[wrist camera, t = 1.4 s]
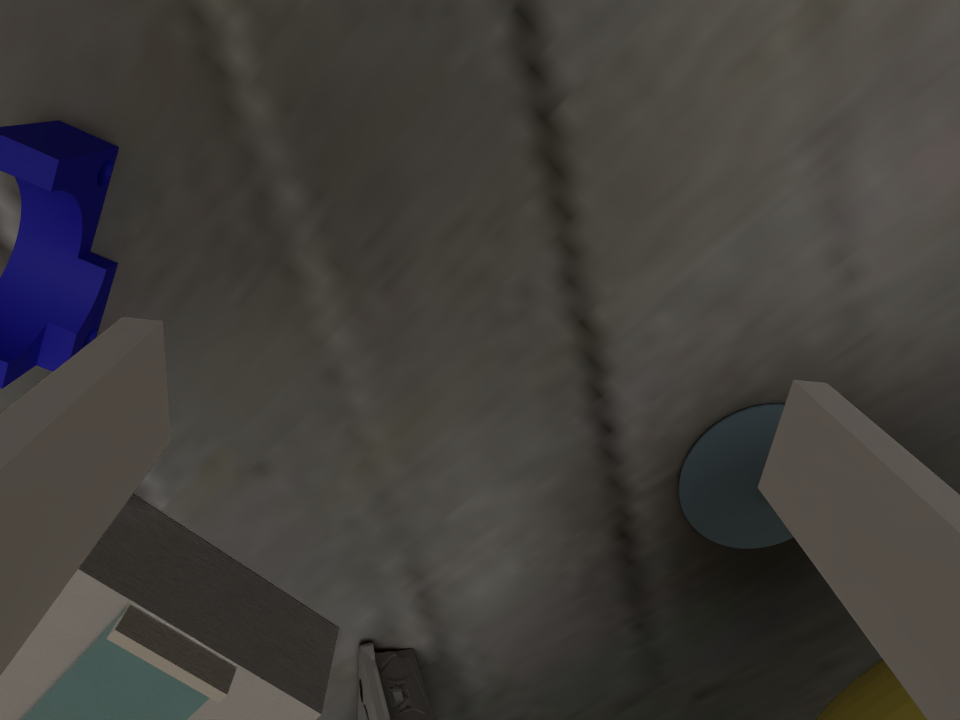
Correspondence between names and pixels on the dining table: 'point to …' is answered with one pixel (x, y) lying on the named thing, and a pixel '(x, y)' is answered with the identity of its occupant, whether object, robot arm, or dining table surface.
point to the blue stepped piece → (53, 246)
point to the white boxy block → (169, 637)
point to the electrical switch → (391, 686)
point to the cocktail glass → (767, 534)
